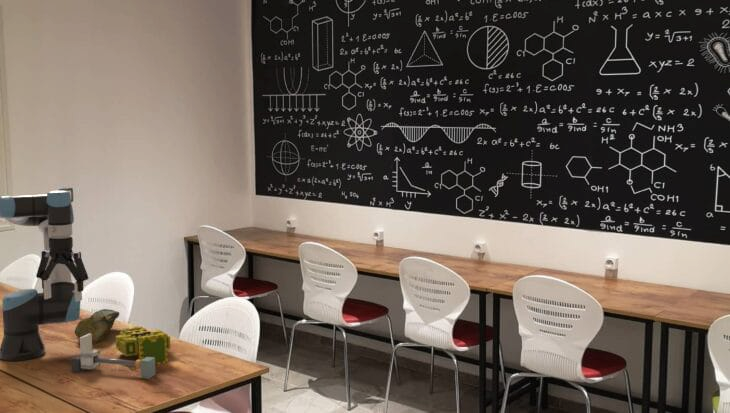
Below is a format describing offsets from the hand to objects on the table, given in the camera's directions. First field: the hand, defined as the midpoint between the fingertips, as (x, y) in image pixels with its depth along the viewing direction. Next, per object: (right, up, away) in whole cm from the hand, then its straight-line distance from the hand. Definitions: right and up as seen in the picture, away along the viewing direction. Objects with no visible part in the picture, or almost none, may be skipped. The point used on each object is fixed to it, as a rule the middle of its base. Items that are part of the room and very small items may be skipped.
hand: (63, 299), depth 254 cm
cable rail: (+18, -25, -2) cm, 31 cm away
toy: (+22, -23, +19) cm, 37 cm away
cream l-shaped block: (+9, -23, 0) cm, 25 cm away
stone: (-3, -20, +41) cm, 46 cm away
